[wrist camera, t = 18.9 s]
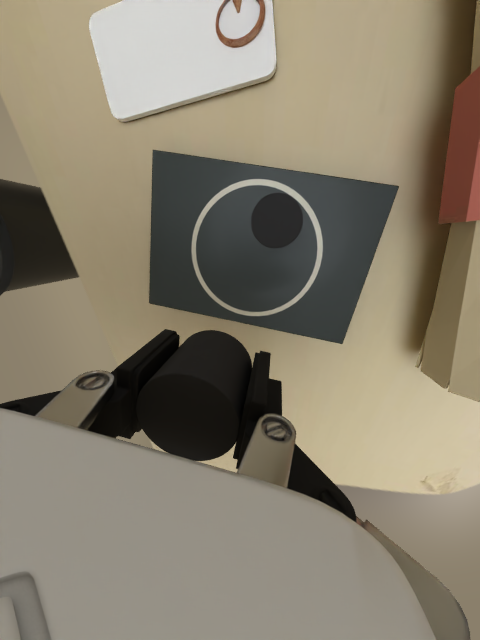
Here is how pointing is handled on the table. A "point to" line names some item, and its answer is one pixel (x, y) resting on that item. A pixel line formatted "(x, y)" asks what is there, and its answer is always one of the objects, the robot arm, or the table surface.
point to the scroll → (459, 249)
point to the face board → (250, 255)
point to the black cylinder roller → (197, 397)
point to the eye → (276, 220)
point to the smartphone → (178, 52)
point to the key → (248, 37)
